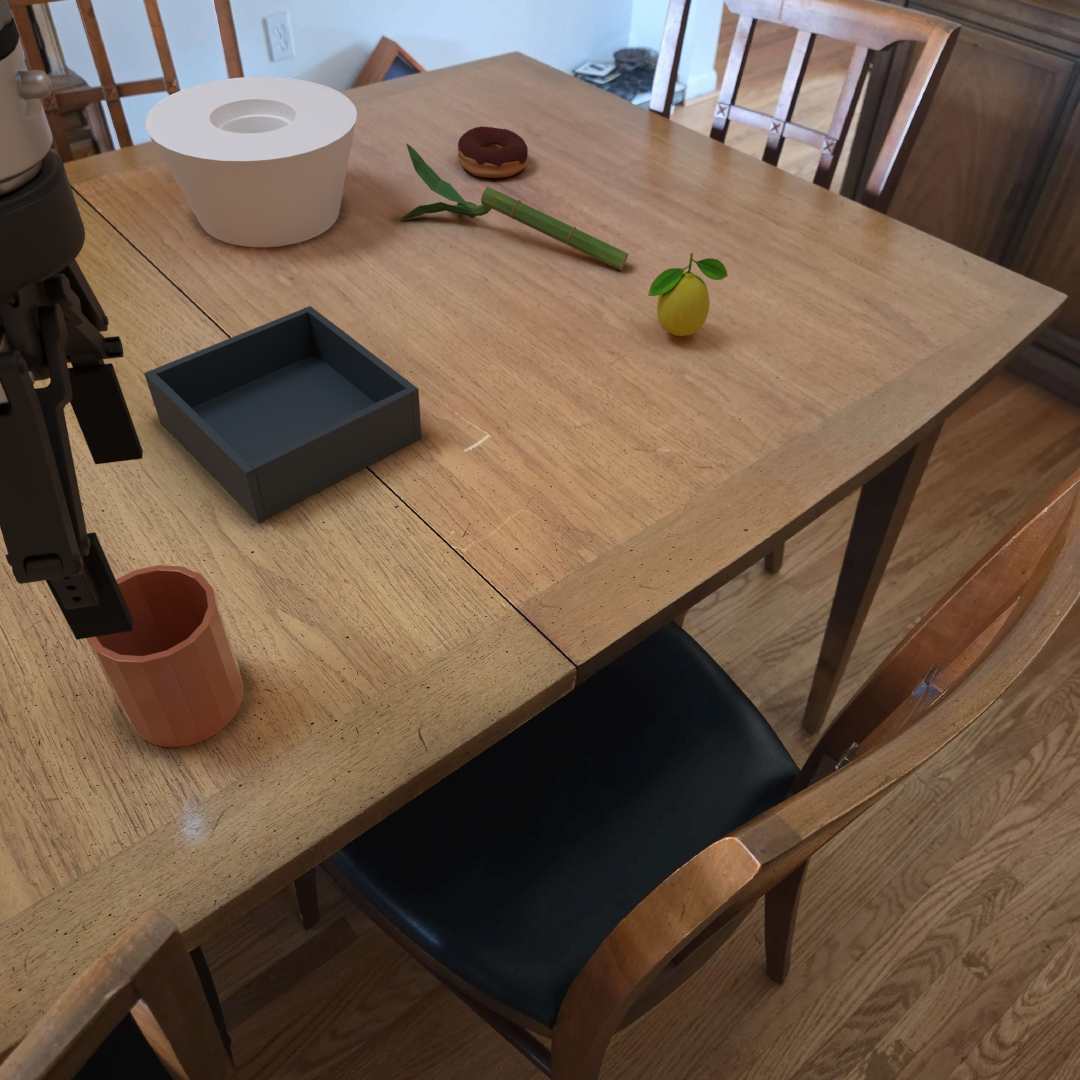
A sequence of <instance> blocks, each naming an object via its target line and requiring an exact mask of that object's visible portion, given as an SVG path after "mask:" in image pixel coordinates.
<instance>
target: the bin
mask: <svg viewBox="0 0 1080 1080" xmlns="http://www.w3.org/2000/svg"><path fill="white" fill-rule="evenodd" d="M143 374H144V377H145V380H146V383H147V386H148V390H149V393H150V396H151V399H152V401H153V404H154V408H155V411H156V414H157V417H158V420H159V423H160V424H161V426H162V427H164V428H165V429H166V430H167V431H168V432H169V434H170V435H171V436H172V437H174V438H175V439H176V441H178V443H179V444H180V445H181V446H182V447H183V448H184V449H185V450H186V451H187V452H188V453H189V454H190V455H191V456H192V457H193V458H194V459H195V460H196V461H197V462H198V463H199V464H200V465H201V466H202V467H203V468H204V469H205V470H206V471H207V473H209V474H210V475H211V476H212V477H213V478H214V480H215V481H217V483H218V484H219V485H220V486H222V487H223V488H224V489H225V491H226V492H227V493H228V494H229V495H230V496H231V497H232V498H233V499H234V500H235V501H236V502H237V503H238V504H239V505H240V506H241V507H242V508H243V509H244V510H245V511H246V512H247V513H248V514H249V515H250V516H251V517H252V518H253V519H254V520H255V521H256V522H257V523H258V524H259V523H261V522H263V521H265V520H268V519H269V518H271V517H274V516H275V515H277V514H279V513H281V512H283V511H285V510H286V509H288V508H290V507H292V506H294V505H296V504H298V503H300V502H302V501H303V500H306V499H307V498H310V497H311V496H313V495H315V494H317V493H319V492H321V491H323V490H325V489H326V488H329V487H330V486H333V485H335V484H336V483H338V482H340V481H343V480H344V479H346V478H347V477H348V478H349V476H352V475H353V474H355V473H358V472H359V471H361V470H363V469H365V468H367V467H369V466H371V465H373V464H375V463H377V462H378V461H380V460H382V459H384V458H386V457H388V456H390V455H391V454H393V453H395V452H398V451H399V450H401V449H403V448H405V447H407V446H410V445H411V444H413V443H415V442H416V441H418V440H421V439H422V438H423V437H422V421H421V407H420V405H421V404H420V391H419V388H418V387H417V386H416V385H415V384H414V383H412V382H411V381H410V380H408V379H407V378H405V377H404V376H403V375H401V374H400V373H399V372H398V371H396V370H395V369H394V368H392V367H391V366H390V365H388V364H387V363H386V362H384V361H383V360H382V359H381V358H379V357H378V356H376V355H375V354H374V353H372V352H371V351H370V350H369V349H368V348H367V347H365V346H363V345H362V344H361V343H360V342H358V340H355V339H354V338H353V337H352V336H351V335H349V334H348V333H346V332H345V331H344V330H342V329H341V328H340V327H339V326H337V325H336V323H335V324H334V322H332V321H331V320H330V319H328V318H327V317H325V316H324V314H322V313H320V312H319V311H318V310H316V308H314V307H313V306H311V305H308V306H306V307H304V308H302V309H301V308H300V309H299V310H297V311H294V312H292V313H289V314H287V315H284V316H282V317H279V318H277V319H273V320H271V321H269V322H267V323H264V324H262V325H260V326H259V325H258V326H257V327H254V328H252V329H250V330H247V331H244V332H242V333H240V334H236V335H234V336H231V337H229V338H227V339H224V340H222V341H219V342H218V343H217V342H216V343H215V344H213V345H209V346H207V347H205V348H202V349H200V350H198V351H194V352H193V353H190V354H188V355H185V356H183V357H180V358H178V359H176V360H172V361H170V362H168V363H165V364H163V365H160V366H158V367H155V368H153V369H150V370H147V371H145V372H143Z"/></svg>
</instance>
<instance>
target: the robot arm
mask: <svg viewBox="0 0 1080 1080" xmlns="http://www.w3.org/2000/svg"><path fill="white" fill-rule="evenodd" d="M24 57H25V51H24V48H23V45H22V43H21V40H20V33H19V30H18V26H17V25H16V21H15V18H14V17H13V13H12V11H11V7H10V4H9V1H8V0H0V531H1V532H0V533H1V534H2V538H3V541H4V545H5V548H6V552H7V554H5V558H6V562H7V564H8V565H9V566H10V567H11V568H12V569H11V570H12V571H11V572H12V574H13V576H14V578H15V581H16V583H18V584H19V585H22V584H30V583H36V582H42V581H45V582H46V584H47V586H48V588H49V591H50V592H51V594H52V596H53V597H54V600H55V601H56V603H57V605H58V607H59V609H60V612H61V613H62V615H63V617H64V619H65V621H66V622H67V625H68V627H69V628H70V630H71V632H72V635H73V636H74V638H75V640H76V641H77V640H84V639H86V638H90V637H97V636H103V635H109V634H115V633H122V632H128V631H133V618H132V616H131V613H130V611H129V609H128V606H127V604H126V602H125V600H124V597H123V595H122V593H121V590H120V588H119V586H118V584H117V581H116V579H117V578H116V577H115V575H114V572H113V569H112V567H111V566H110V563H109V561H108V559H107V556H106V554H105V551H104V549H103V547H102V545H101V542H100V540H99V538H98V536H97V533H96V532H95V531H94V532H88V531H87V525H86V521H85V515H84V511H83V510H84V509H83V505H82V499H81V494H80V493H81V492H80V489H79V484H78V479H77V478H78V477H77V473H76V468H75V462H74V457H73V451H72V447H71V441H70V436H69V432H68V426H67V420H66V416H65V407H66V406H67V405H68V404H70V406H71V408H72V410H73V413H74V415H75V418H76V420H77V423H78V426H79V429H80V430H81V431H80V432H81V433H82V435H83V437H84V438H83V439H84V440H85V443H86V445H87V447H88V450H89V453H90V455H91V457H92V460H93V462H94V465H103V464H111V463H119V462H126V461H127V462H128V461H135V460H142V459H143V455H144V449H143V448H142V444H141V441H140V439H139V436H138V433H137V430H136V428H135V424H134V422H133V419H132V415H131V413H130V409H129V407H128V404H127V401H126V399H125V396H124V394H123V391H122V387H121V385H120V382H119V380H118V379H119V378H118V376H117V373H116V370H115V368H114V364H113V363H105V360H109V359H118V358H119V359H120V358H124V347H123V342H122V340H121V337H120V335H119V336H118V335H117V336H107V337H106V336H104V335H103V334H102V332H108V330H109V324H110V322H109V318H108V316H107V315H106V313H105V311H104V309H103V307H102V304H100V302H99V300H98V298H97V296H96V294H95V293H94V290H93V289H92V287H91V285H90V283H89V282H88V280H87V278H86V276H85V275H84V273H83V271H82V269H81V267H80V265H79V264H78V262H77V260H76V259H77V257H78V256H79V254H80V253H81V251H82V249H83V247H84V244H85V241H86V230H85V224H84V223H83V219H82V215H81V212H80V210H79V207H78V204H77V201H76V198H75V195H74V191H73V189H72V186H71V183H70V180H69V177H68V174H67V171H66V168H65V165H64V162H63V161H62V159H61V158H60V157H59V156H58V154H56V153H54V151H51V148H52V145H53V142H54V140H53V139H54V138H53V133H52V131H51V127H50V124H49V122H48V118H47V115H46V113H45V110H44V109H45V108H44V106H43V103H42V99H46V98H48V97H50V96H51V95H52V93H53V92H54V89H53V83H52V79H51V78H50V76H49V75H48V74H47V73H46V72H45V71H44V70H40V69H32V70H28V66H27V63H26V61H25V58H24ZM70 363H71V366H72V367H69V366H68V364H70ZM48 379H50V380H49V384H48V385H47V386H44V387H35V382H39V381H45V380H48Z"/></svg>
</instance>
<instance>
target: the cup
mask: <svg viewBox="0 0 1080 1080" xmlns="http://www.w3.org/2000/svg"><path fill="white" fill-rule="evenodd" d="M115 579H116V581H117V584H118V586H119V588H120V590H121V593H122V595H123V597H124V600H125V602H126V604H127V606H128V609H129V611H130V613H131V616H132V618H133V631H128V632H122V633H115V634H109V635H103V636H97V637H90V638H85V639H86V642H87V643H88V646H89V647H90V649H91V652H92V653H93V654H94V657H95V660H96V661H97V664H98V665H99V667H100V669H101V671H102V673H103V675H104V677H105V679H106V681H107V683H108V684H109V687H110V689H111V691H112V692H113V694H114V697H115V698H116V700H117V702H118V705H119V706H120V708H121V710H122V713H123V714H124V716H125V718H126V720H127V721H128V722H129V725H130V726H131V727H132V729H133V731H134V732H135V733H136V734H137V735H138V736H139V737H140V738H141V739H143V740H144V741H146V742H147V743H150V744H152V745H155V746H159V747H166V748H181V747H188V746H193V745H196V744H198V743H199V744H200V743H202V742H204V741H206V740H208V739H210V738H212V737H214V736H216V734H218V733H220V732H221V731H222V730H223V729H224V728H225V727H226V726H228V725H229V724H230V722H231V721H232V720H233V719H234V718H235V716H236V715H237V713H238V711H239V710H240V707H241V705H242V702H243V698H244V692H245V691H244V690H245V689H244V688H245V687H244V682H243V678H242V674H241V669H240V666H239V663H238V660H237V657H236V653H235V651H234V648H233V645H232V641H231V638H230V636H229V631H228V629H227V627H226V623H225V620H224V618H223V614H222V611H221V607H220V606H219V605H220V604H219V602H218V599H217V595H216V592H215V590H214V587H213V586H212V585H211V584H210V583H209V581H208V580H207V579H206V578H205V577H204V576H203V575H202V574H201V573H199V572H196V571H194V570H191V569H188V568H186V567H185V566H181V565H164V564H157V565H151V566H148V567H144V568H139V569H134V570H132V571H130V572H128V573H126V574H123V575H122V576H120V577H118V578H115Z"/></svg>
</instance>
